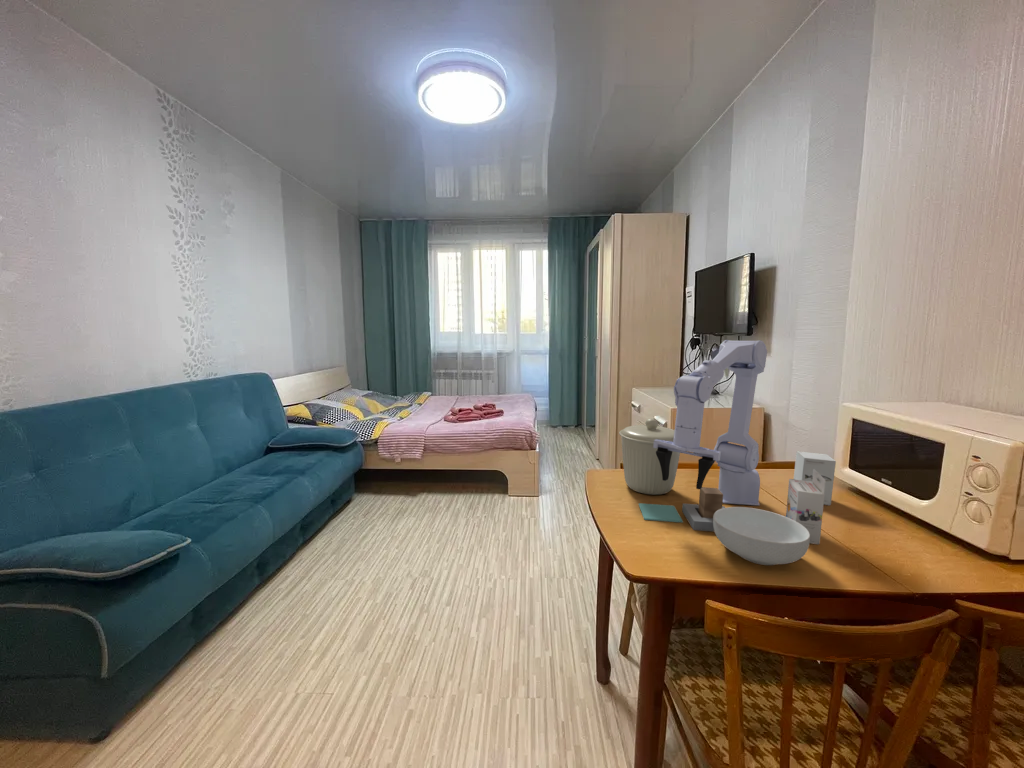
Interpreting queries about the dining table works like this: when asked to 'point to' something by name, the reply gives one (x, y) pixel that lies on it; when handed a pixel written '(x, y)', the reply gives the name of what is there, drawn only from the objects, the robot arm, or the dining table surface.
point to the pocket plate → (697, 518)
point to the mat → (660, 512)
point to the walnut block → (709, 502)
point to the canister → (647, 458)
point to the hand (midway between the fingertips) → (681, 483)
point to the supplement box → (821, 465)
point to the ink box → (807, 504)
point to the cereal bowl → (761, 535)
